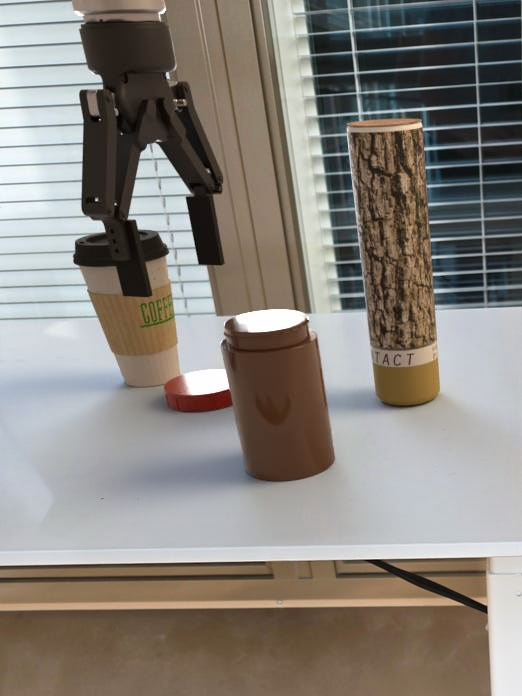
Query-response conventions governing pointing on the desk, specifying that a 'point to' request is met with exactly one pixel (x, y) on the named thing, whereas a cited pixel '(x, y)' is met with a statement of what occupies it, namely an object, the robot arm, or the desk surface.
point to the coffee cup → (133, 310)
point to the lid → (198, 391)
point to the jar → (278, 394)
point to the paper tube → (395, 257)
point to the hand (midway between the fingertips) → (177, 279)
